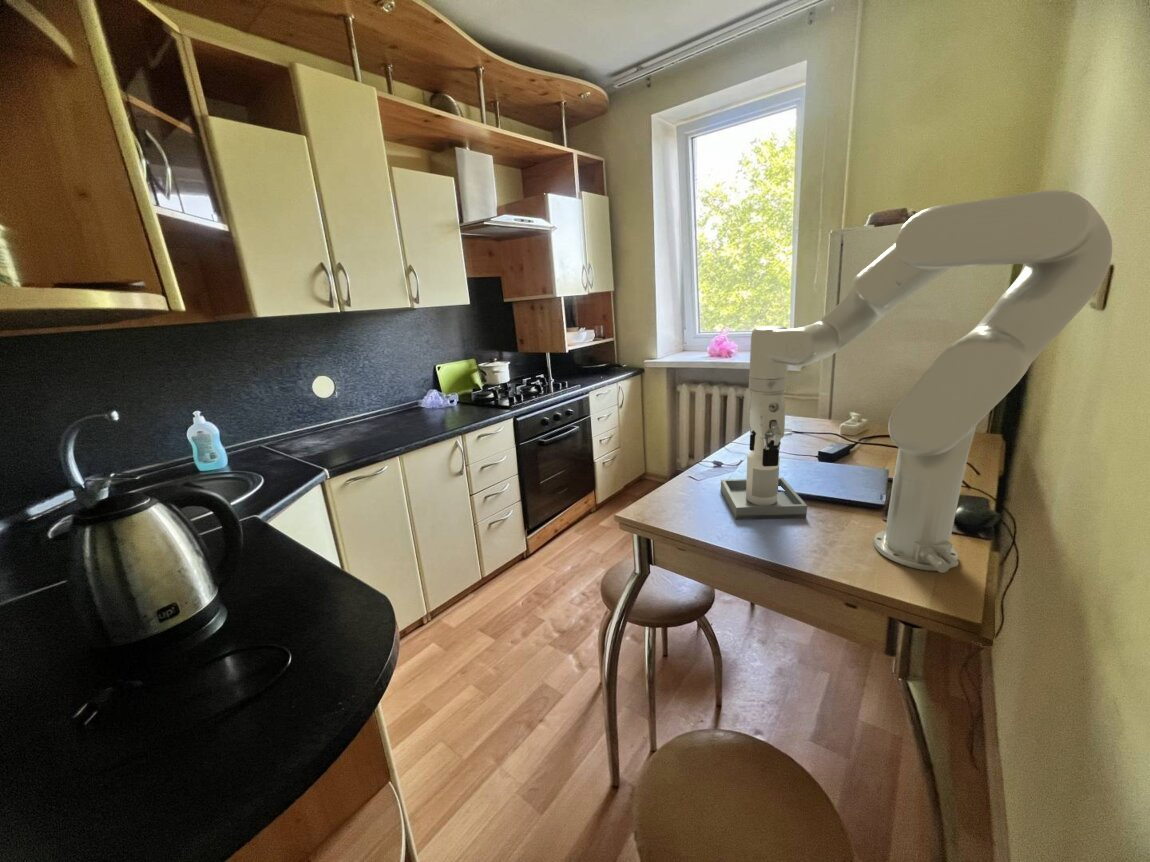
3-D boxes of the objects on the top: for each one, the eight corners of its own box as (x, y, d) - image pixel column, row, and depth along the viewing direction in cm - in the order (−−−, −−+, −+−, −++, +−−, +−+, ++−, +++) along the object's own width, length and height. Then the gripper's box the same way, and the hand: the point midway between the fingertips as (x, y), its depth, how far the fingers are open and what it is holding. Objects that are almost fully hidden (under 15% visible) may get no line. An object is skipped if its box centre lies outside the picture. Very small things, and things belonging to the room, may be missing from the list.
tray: (806, 518, 98) (807, 505, 97) (735, 519, 100) (736, 507, 99) (781, 488, 113) (782, 477, 112) (720, 490, 114) (721, 479, 113)
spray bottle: (764, 509, 101) (768, 434, 96) (739, 498, 107) (741, 427, 101) (783, 500, 105) (788, 426, 99) (758, 490, 110) (761, 420, 105)
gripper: (801, 392, 89) (794, 472, 94) (771, 375, 105) (767, 444, 111) (761, 394, 90) (757, 473, 95) (739, 377, 106) (736, 445, 111)
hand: (763, 457), depth 103 cm, fingers open, 9 cm apart
